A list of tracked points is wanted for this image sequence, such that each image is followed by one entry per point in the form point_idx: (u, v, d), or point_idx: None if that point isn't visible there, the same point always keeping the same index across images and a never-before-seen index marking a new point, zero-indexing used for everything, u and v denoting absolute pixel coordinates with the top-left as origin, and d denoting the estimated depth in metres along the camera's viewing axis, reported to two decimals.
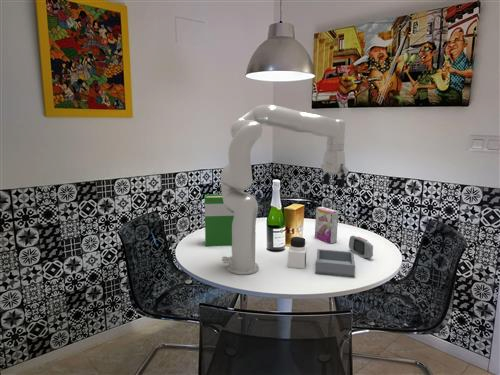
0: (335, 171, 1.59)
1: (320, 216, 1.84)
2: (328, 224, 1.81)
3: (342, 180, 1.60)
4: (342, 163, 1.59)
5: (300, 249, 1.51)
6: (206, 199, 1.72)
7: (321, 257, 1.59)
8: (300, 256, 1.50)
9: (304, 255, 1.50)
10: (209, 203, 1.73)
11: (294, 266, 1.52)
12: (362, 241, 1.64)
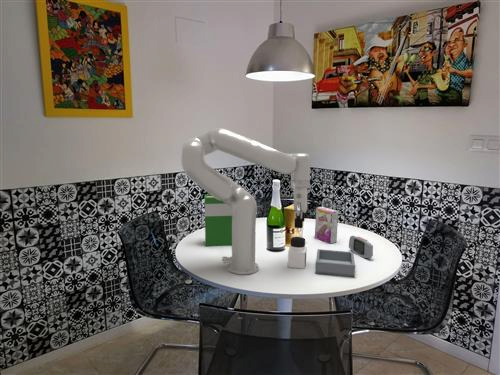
0: None
1: (320, 216, 1.84)
2: (328, 224, 1.81)
3: None
4: None
5: (300, 249, 1.51)
6: (206, 199, 1.72)
7: (321, 257, 1.59)
8: (300, 256, 1.50)
9: (304, 255, 1.50)
10: (209, 203, 1.73)
11: (294, 266, 1.52)
12: (362, 241, 1.64)
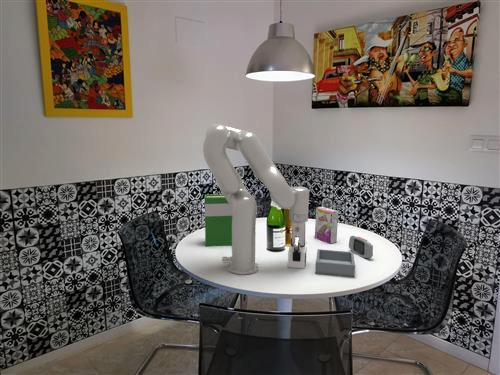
0: None
1: (320, 216, 1.84)
2: (328, 224, 1.81)
3: None
4: None
5: (300, 249, 1.51)
6: (206, 199, 1.72)
7: (321, 257, 1.59)
8: None
9: (304, 255, 1.50)
10: (209, 203, 1.73)
11: (294, 266, 1.52)
12: (362, 241, 1.64)
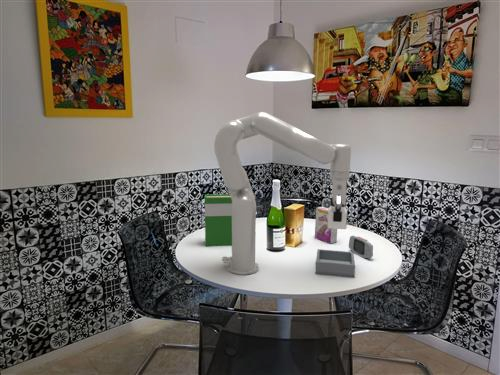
0: None
1: (320, 216, 1.84)
2: None
3: None
4: None
5: None
6: (206, 199, 1.72)
7: (321, 257, 1.59)
8: None
9: (345, 215, 1.44)
10: (209, 203, 1.73)
11: (335, 227, 1.45)
12: (362, 241, 1.64)
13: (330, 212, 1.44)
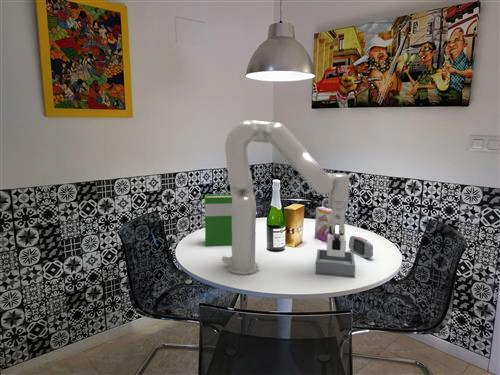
0: None
1: (320, 216, 1.84)
2: (328, 224, 1.81)
3: None
4: None
5: (340, 237, 1.47)
6: (206, 199, 1.72)
7: (321, 257, 1.59)
8: None
9: (344, 243, 1.46)
10: (209, 203, 1.73)
11: (333, 255, 1.47)
12: (362, 241, 1.64)
13: (329, 240, 1.47)
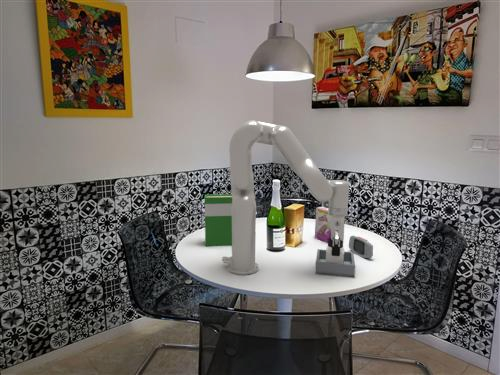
0: None
1: (320, 216, 1.84)
2: (328, 224, 1.81)
3: None
4: None
5: None
6: (206, 199, 1.72)
7: (321, 257, 1.59)
8: (339, 257, 1.47)
9: (342, 256, 1.47)
10: (209, 203, 1.73)
11: None
12: (362, 241, 1.64)
13: (327, 253, 1.48)
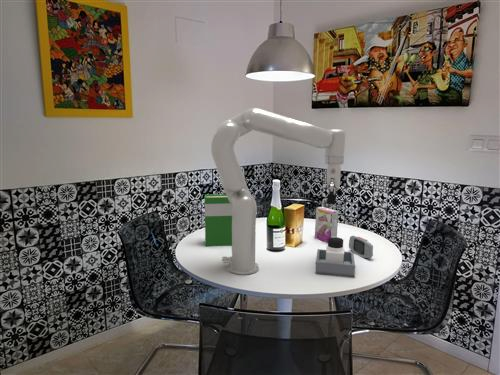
0: None
1: (320, 216, 1.84)
2: (328, 224, 1.81)
3: None
4: None
5: (338, 250, 1.48)
6: (206, 199, 1.72)
7: (321, 257, 1.59)
8: (339, 257, 1.47)
9: (343, 256, 1.47)
10: (209, 203, 1.73)
11: None
12: (362, 241, 1.64)
13: (327, 253, 1.48)
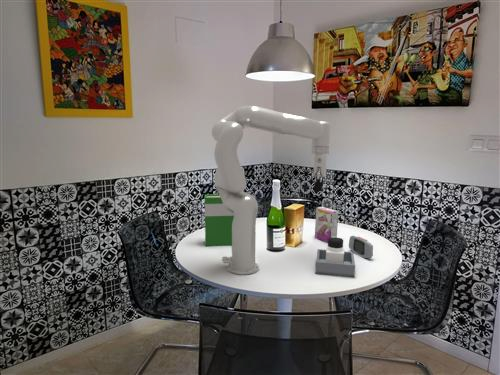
0: None
1: (320, 216, 1.84)
2: (328, 224, 1.81)
3: None
4: None
5: (338, 250, 1.48)
6: (206, 199, 1.72)
7: (321, 257, 1.59)
8: (339, 257, 1.47)
9: (342, 256, 1.47)
10: (209, 203, 1.73)
11: None
12: (362, 241, 1.64)
13: (327, 253, 1.48)
